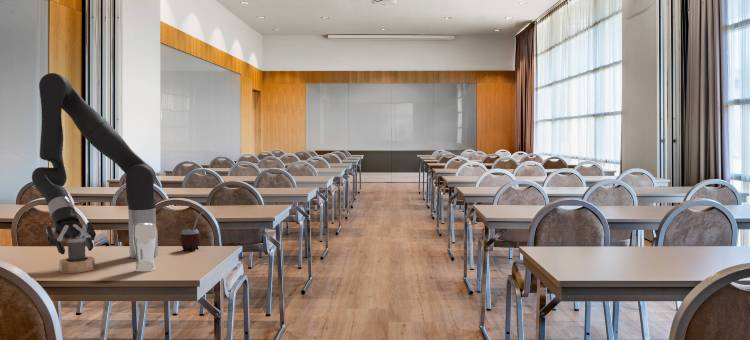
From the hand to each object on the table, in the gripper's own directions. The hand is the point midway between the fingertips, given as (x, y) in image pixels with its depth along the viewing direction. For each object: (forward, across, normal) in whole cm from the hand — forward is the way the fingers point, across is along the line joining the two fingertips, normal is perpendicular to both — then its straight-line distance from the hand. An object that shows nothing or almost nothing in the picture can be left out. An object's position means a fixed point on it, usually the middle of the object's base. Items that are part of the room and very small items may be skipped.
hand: (77, 251), depth 199 cm
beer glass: (+16, +14, -7) cm, 23 cm away
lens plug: (+4, 0, +5) cm, 6 cm away
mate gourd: (+1, +44, +8) cm, 45 cm away
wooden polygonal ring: (+4, 0, +5) cm, 6 cm away
